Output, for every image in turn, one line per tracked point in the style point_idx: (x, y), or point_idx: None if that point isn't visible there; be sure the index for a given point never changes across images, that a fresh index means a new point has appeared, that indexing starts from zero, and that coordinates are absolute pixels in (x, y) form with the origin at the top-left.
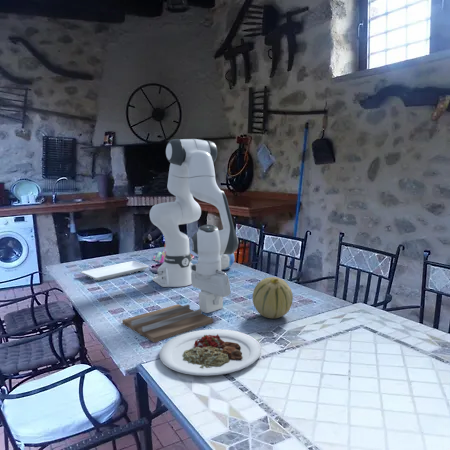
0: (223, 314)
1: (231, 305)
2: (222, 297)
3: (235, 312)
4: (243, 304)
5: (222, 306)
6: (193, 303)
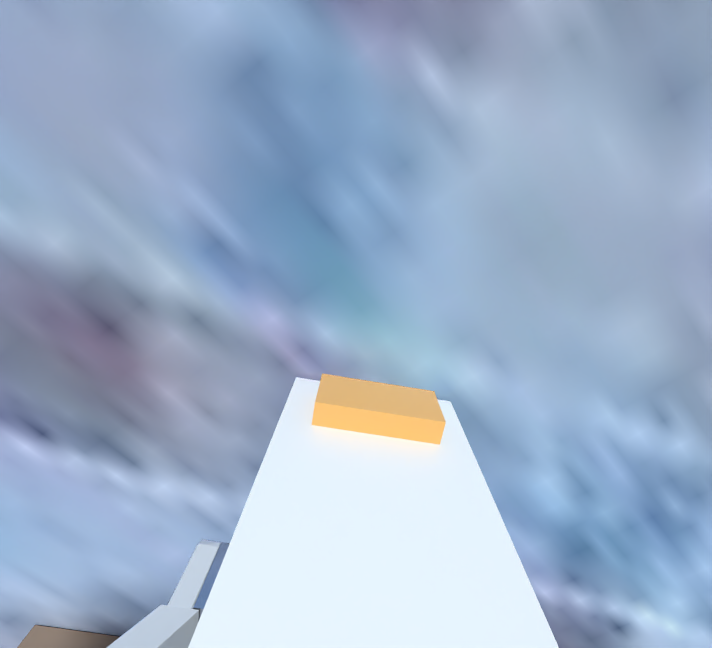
0: (574, 532)
1: (481, 238)
2: (501, 522)
3: (679, 418)
4: (638, 70)
5: (454, 422)
6: (14, 463)
